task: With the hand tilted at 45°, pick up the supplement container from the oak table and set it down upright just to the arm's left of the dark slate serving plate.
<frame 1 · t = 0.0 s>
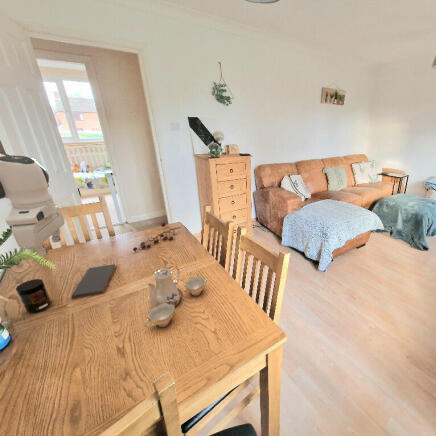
hand: (50, 247, 80), 26 cm above the table, tool pointing down, fingers open, 8 cm apart
chinaware: (174, 304, 94), on the table
slate plate: (96, 281, 104), on the table
decorative branch: (159, 241, 139), on the table
supplement container: (40, 308, 89), on the table
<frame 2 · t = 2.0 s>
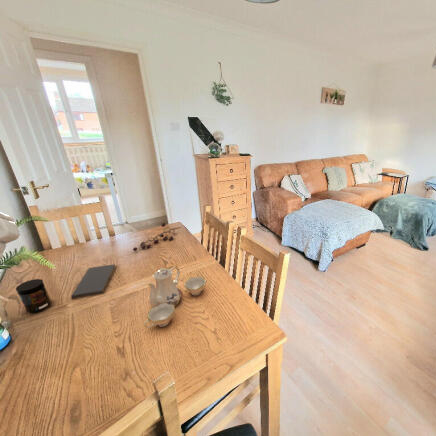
nothing on the table moved.
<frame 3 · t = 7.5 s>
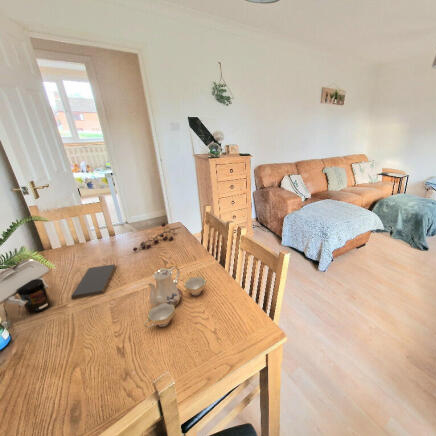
hand: (36, 296, 87), 5 cm above the table, tool tilted 45°, fingers closed on supplement container, 6 cm apart
supplement container: (40, 308, 89), on the table, touching gripper
everything else where it was.
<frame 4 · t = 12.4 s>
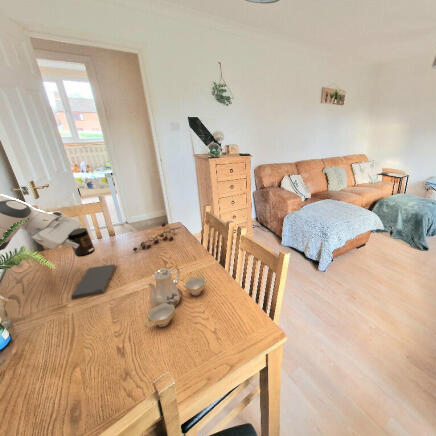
hand: (82, 241, 100), 18 cm above the table, tool tilted 50°, fingers closed on supplement container, 6 cm apart
supplement container: (86, 253, 102), point 12 cm above the table, touching gripper
everything else where it was.
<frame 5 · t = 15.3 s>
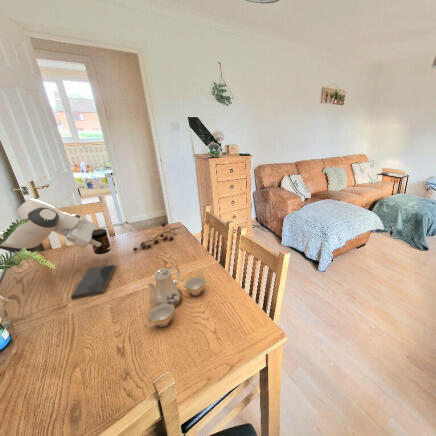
hand: (101, 241, 113), 12 cm above the table, tool tilted 45°, fingers closed on supplement container, 6 cm apart
supplement container: (103, 251, 115), point 6 cm above the table, touching gripper
everything else where it was.
when the fingers open (5 cm above the table, at t = 17.7 s): supplement container stays where it is, on the table.
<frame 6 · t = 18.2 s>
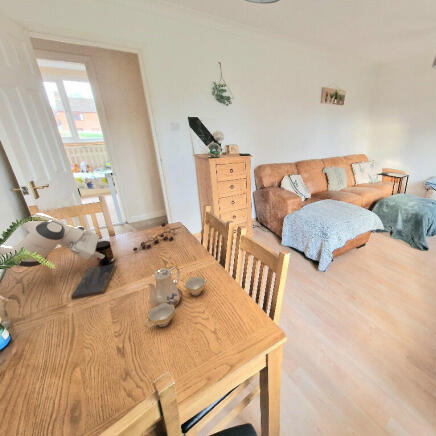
hand: (105, 252, 115), 6 cm above the table, tool tilted 45°, fingers open, 8 cm apart
supplement container: (106, 263, 117), on the table
everything else where it was.
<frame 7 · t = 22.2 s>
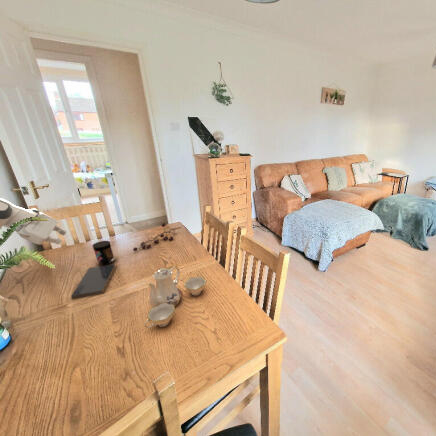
hand: (63, 237, 105), 16 cm above the table, tool tilted 45°, fingers open, 8 cm apart
nothing on the table moved.
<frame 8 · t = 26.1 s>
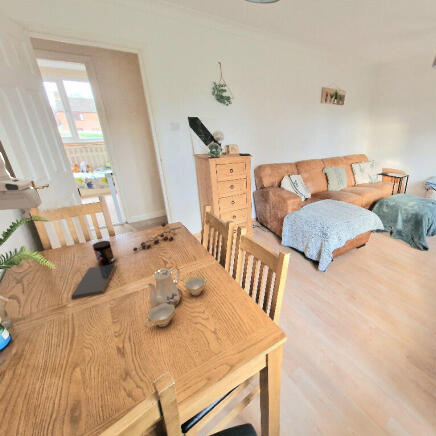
hand: (10, 220, 90), 29 cm above the table, tool pointing down, fingers open, 8 cm apart
nothing on the table moved.
at the end: supplement container inside the target area on the table beside the slate plate (0.9 cm from its centre), on the table; supplement container tilted 0°; the gripper is holding nothing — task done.
